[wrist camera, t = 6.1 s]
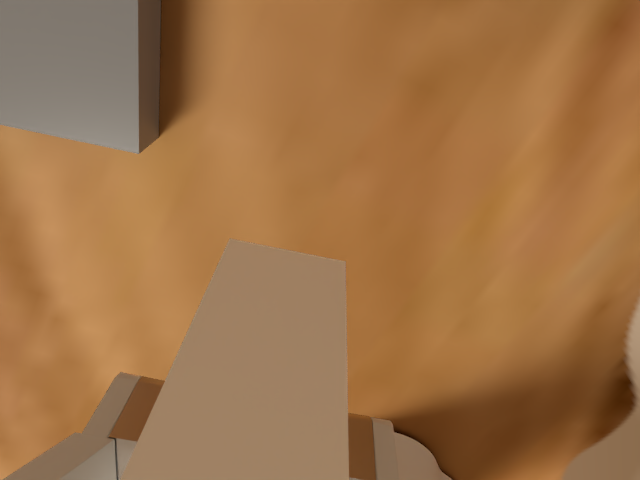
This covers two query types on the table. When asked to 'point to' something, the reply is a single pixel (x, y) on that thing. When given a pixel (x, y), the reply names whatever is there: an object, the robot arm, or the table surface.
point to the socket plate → (82, 70)
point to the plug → (256, 376)
